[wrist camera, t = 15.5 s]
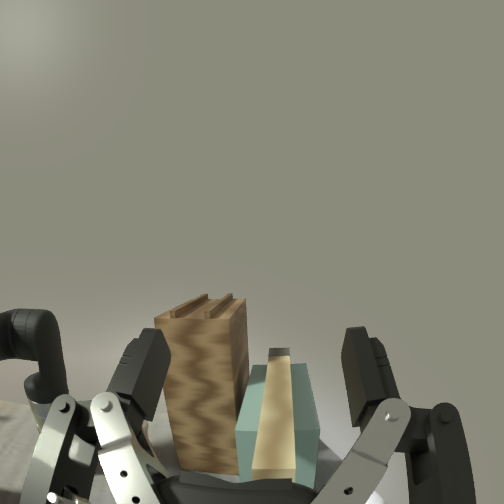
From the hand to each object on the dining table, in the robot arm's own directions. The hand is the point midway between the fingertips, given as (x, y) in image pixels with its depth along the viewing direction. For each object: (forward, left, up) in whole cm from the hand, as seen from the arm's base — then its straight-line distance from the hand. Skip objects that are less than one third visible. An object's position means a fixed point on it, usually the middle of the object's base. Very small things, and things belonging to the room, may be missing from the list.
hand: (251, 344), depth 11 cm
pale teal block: (+1, +27, -37) cm, 46 cm away
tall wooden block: (-12, +38, -37) cm, 54 cm away
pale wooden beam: (+1, +22, -17) cm, 27 cm away
